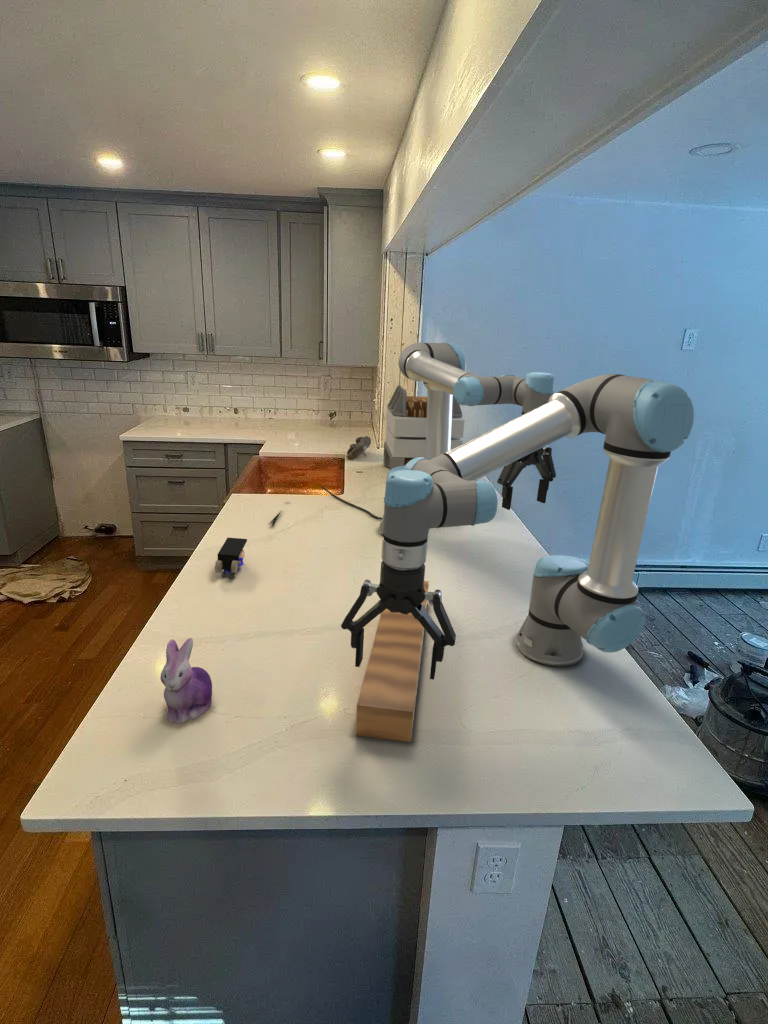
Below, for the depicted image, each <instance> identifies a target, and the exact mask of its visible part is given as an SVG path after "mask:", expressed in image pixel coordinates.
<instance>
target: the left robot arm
mask: <svg viewBox="0 0 768 1024" xmlns="http://www.w3.org/2000/svg"><path fill="white" fill-rule="evenodd" d="M398 368H399V371H400V373H401V374H402V375H403V376H404V377H405V378H407V379H408V380H410V381H413V382H422V385H423V386H424V387H425V388H426V389H427V392H426V393H427V395H426V397H427V424H426V458H428V459H433V458H435V457H437V456H439V455H441V454H443V453H445V452H448V451H450V444H451V420H452V396H454V398H455V400H457V403H458V404H459V405H460V406H466V407H467V406H468V407H475V406H487V405H488V406H490V405H493V406H494V405H516V406H519V407H522V409H521V415H524V414H526V413H528V412H530V411H532V410H534V409H536V408H538V407H540V406H542V405H544V404H546V403H548V400H549V398H550V397H551V396H552V395H553V394H555V385H556V384H555V381H556V378H555V376H554V374H552V373H548V372H538V371H531V372H528V373H526V376H525V377H521V376H516V375H513V374H501V375H499V376H480V375H476V374H475V373H471V372H469V371H468V370H467V371H466V368H467V361H466V356H465V354H464V351H463V350H462V348H461V346H459V345H458V344H456V343H451V342H414V343H411V344H409V345H407V346H406V347H405V348H403V350H402V351H401V352H400V354H399V357H398ZM552 454H553V448H552V447H549V446H548V445H546V446H544V447H542V448H540V449H538V450H536V451H534V452H532V453H530V454H528V455H526V456H524V457H522V458H520V459H518V460H516V461H514V462H512V463H510V464H508V465H506V466H504V467H502V470H501V472H500V474H499V476H498V479H497V481H496V482H497V484H498V485H501V486H502V488H501V497H502V499H501V500H502V501H501V508H503V509H505V510H507V511H510V510H511V507H512V499H513V490H514V487H513V486H512V485H513V483H515V481H516V480H517V478H518V477H519V476H520V474H521V472H522V471H523V470H524V469H525V468H527V467H528V466H532V465H533V466H535V468H536V469H537V471H538V473H539V475H540V477H541V478H540V479H539V481H538V488H537V496H536V501H537V502H539V503H541V504H546V502H547V501H546V500H547V496H548V495H547V494H548V491H549V488H550V487H549V486H550V482H553V481H554V479H555V478H556V477H557V473H556V468H555V464H554V459H553V455H552ZM405 466H406V465H404V466H398V467H395V468H393V469H391V470H390V469H389V470H388V472H387V475H386V479H385V485H386V484H387V479H388V477H389V475H390V474H391V473H393V472H395V471H399V470H403V469H404V467H405ZM321 488H322V489H323V490H324V491H325V492H327V493H328V494H330V495H331V496H332V497H334V498H336V499H337V500H339V501H341V502H343V503H345V504H347V505H349V506H352V507H354V508H356V509H359V510H361V511H363V512H365V513H367V514H368V515H369V516H371V517H373V518H375V519H377V520H381V522H379V527H378V533H379V534H380V535H381V536H383V529H384V514H383V515H382V517H380V516H377V515H374V514H373V513H371V511H369V510H367V509H365V508H363V507H360V506H358V505H355V504H353V503H351V502H349V501H346V500H345V499H343V498H340V496H337V495H335V494H334V493H332V492H331V491H329V490H328V489H327V488H326V487H324V486H323V485H322V486H321Z"/></svg>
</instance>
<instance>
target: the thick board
mask: <svg viewBox="0 0 768 1024" xmlns="http://www.w3.org/2000/svg"><path fill="white" fill-rule="evenodd" d="M429 587H430V581H429V580H424V590H425V592H429ZM428 602H429V601H428V600H426V599H425V600H424V601H423V602H422V604H423V606H424V608H425V610H426V612H427V610H428ZM424 636H425V629H424V627H423V626H422V625H421V623H420V622H419V621H418V620H417V619H415V617H414V616H413V615H412V614H411V613H408V615H406V614H402V613H399V612H396V613H393V612H390V610H388V609H385V610H384V611H383V612H382V613H381V614H380V617H379V620H378V624H377V629H376V632H375V635H374V640H373V643H372V647H371V652H370V655H369V658H368V661H367V662H368V663H367V665H366V670H365V674H364V677H363V681H362V684H361V688H360V692H359V696H358V700H357V703H356V719H355V720H356V721H355V723H356V724H355V729H356V730H355V736H360V737H367V738H375V739H382V740H391V741H398V742H405V743H406V742H407V743H412V738H413V737H412V736H413V729H414V721H415V712H416V705H417V695H418V686H419V678H420V669H421V661H422V653H423V652H422V651H423V644H424Z"/></svg>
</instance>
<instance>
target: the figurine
mask: <svg viewBox="0 0 768 1024" xmlns="http://www.w3.org/2000/svg"><path fill="white" fill-rule="evenodd" d="M193 646H194V639H193V638H192V637H188V639H186V640H185V641H184V643H183V644H182V645H181V646H180V648H179V646H178V643H177V642H176V640H175V639H172V638H171V640H169V641H168V642H167V644H166V649H165V657H166V658H165V659H166V661H165V664H164V666H163V668H162V670H161V672H160V676H159V679H160V682H161V683H162V684H163V685H164V686H165V688H164V689H163V699H164V701H165V704H166V707H167V710H166V711H167V712H166V716H165V717H166V720H167V721H168V722H171V723H176V724H184V723H186V722H187V721H190V720H196V719H197V718H199V717H200V716H202V715H203V714H205V713H206V712H207V711H208V710H210V709H211V706H212V700H213V699H212V696H213V682H212V678H211V676H210V674H209V673H208V671H207V670H206V669H204V668H203V667H199V666H191V664H190V658H191V655H192V650H193Z"/></svg>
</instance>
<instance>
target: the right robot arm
mask: <svg viewBox="0 0 768 1024" xmlns="http://www.w3.org/2000/svg"><path fill="white" fill-rule="evenodd" d="M694 421H695V410H694V404H693V401H692V399H691V398H690V397H689V395H688V392H687V391H686V390H684V388H682V387H681V386H679V385H677V384H673V383H670V382H666V381H665V380H661V379H660V380H659V379H653V378H645V377H639V376H638V377H637V376H631V375H625V374H619V373H606V374H602V375H601V374H600V375H597V376H594V377H593V376H592V377H589V378H588V379H585V380H581V381H579V382H577V383H575V384H572V385H570V386H568V387H566V388H563V389H562V390H559V391H557V392H554V394H553V395H552V396H551V397H550V398H549V400H548V403H546V404H544V405H542V406H540V407H538V408H536V409H534V410H532V411H530V412H528V413H526V414H524V415H522V414H521V415H518V416H517V417H515V418H513V419H511V420H508V421H507V422H505V423H503V424H501V425H499V426H497V427H495V428H493V429H491V430H489V431H486V432H485V433H483V434H480V435H478V436H476V437H474V438H472V439H470V440H468V441H466V442H464V443H462V445H460V446H458V447H456V448H454V449H452V450H450V451H448V452H445V453H443V454H441V455H439V456H437V457H435V458H433V459H428V458H423V457H418V458H414V459H412V460H411V461H409V462H408V463H407V464H406V466H405V465H404V466H405V467H404V469H403V470H399V471H395V472H393V473H391V474H390V475H389V477H388V479H387V478H386V480H387V484H386V483H385V491H384V497H383V503H384V504H383V506H384V507H383V515H384V529H383V535H382V542H381V555H380V557H381V562H380V573H379V575H380V576H379V583H378V584H376V583H372V581H371V580H370V579H365V580H364V581H363V583H362V585H361V587H360V591H359V596H358V597H357V599H356V600H355V601H354V603H353V605H352V606H351V608H350V609H349V611H348V612H347V614H346V615H345V617H344V619H343V620H342V623H341V625H340V627H341V629H342V630H347V631H349V632H350V647H351V649H355V662H354V667H356V668H360V667H361V664H362V661H363V658H364V644H365V643H364V642H365V641H364V640H365V628H364V627H366V626H367V625H368V624H370V623H371V622H372V621H373V620H374V619H375V618H376V617H378V616H379V615H381V613H382V612H383V611H384V610H385V609H388V610H390V612H393V613H396V612H399V613H402V614H406V615H408V613H411V614H412V615H413V616H414V617H415V619H417V620H418V621H419V622H420V623H421V625H422V626H423V627H424V631H426V633H427V635H429V637H430V638H431V640H432V641H433V645H432V650H431V651H432V652H431V660H430V661H431V662H430V672H429V680H432V681H433V680H434V681H435V677H436V673H437V672H436V670H437V663H442V662H443V661H444V656H445V648H446V647H447V646H449V647H454V646H455V645H456V638H457V635H456V632H455V630H454V628H453V625H452V622H451V621H450V618H449V615H448V613H447V611H446V608H445V606H444V604H443V600H442V596H443V595H442V591H441V589H435V590H434V591H428V592H425V590H424V581H425V574H426V565H425V564H426V563H427V555H428V553H427V552H428V542H429V532H430V530H431V529H440V528H450V527H451V528H452V527H463V526H465V527H466V526H471V527H475V526H476V525H481V524H486V523H490V522H491V521H492V520H493V519H494V518H495V516H496V514H497V511H498V505H499V499H498V493H497V490H496V488H495V487H494V485H493V483H491V482H490V481H487V480H481V479H482V478H485V477H486V476H488V475H490V474H493V473H495V472H496V471H499V470H501V469H503V468H504V466H506V465H508V464H510V463H512V462H514V461H516V460H518V459H520V458H522V457H524V456H526V455H528V454H530V453H532V452H534V451H536V450H538V449H540V448H542V447H544V446H548V445H550V444H553V443H555V442H557V441H558V440H561V439H562V438H567V439H574V438H576V437H579V436H580V435H582V434H585V433H600V434H603V435H604V441H603V446H602V450H603V451H604V453H605V454H606V455H607V457H608V464H607V469H606V476H605V480H604V486H603V491H602V496H601V502H600V505H599V511H598V516H597V520H596V525H595V531H594V536H593V542H592V547H591V551H590V556H589V560H588V561H587V560H585V559H582V558H579V557H575V556H570V555H547V556H544V557H542V558H540V559H539V560H537V562H536V564H535V568H534V572H533V573H532V583H531V591H530V600H529V606H528V607H529V608H528V613H527V615H526V617H525V619H524V621H523V623H522V625H521V626H520V628H519V630H518V632H517V635H516V641H515V643H516V647H517V649H518V651H519V652H520V653H521V654H522V655H523V656H524V657H526V658H527V659H529V660H531V661H533V662H536V663H538V664H540V665H545V666H549V667H558V668H560V667H561V668H562V667H571V666H573V665H575V664H578V663H579V662H580V661H581V659H582V658H583V652H584V644H583V641H582V639H584V640H585V641H586V643H587V644H588V645H590V646H593V647H595V649H597V650H599V651H600V652H602V653H603V652H604V653H615V652H619V651H622V650H623V649H626V648H628V646H630V645H631V644H632V643H633V642H634V641H636V640H637V638H638V637H639V636H640V635H641V633H642V631H643V629H644V627H645V624H646V614H645V613H644V610H643V609H642V608H641V606H639V605H638V604H636V603H637V599H638V594H639V587H638V586H637V584H636V582H635V581H634V576H635V575H634V574H635V570H636V566H637V562H638V557H639V552H640V548H641V543H642V540H643V535H644V532H645V531H644V530H645V526H646V523H647V517H648V513H649V509H650V505H651V501H652V495H653V491H654V487H655V482H656V478H657V473H658V469H659V467H660V466H661V464H663V463H665V462H667V461H668V460H669V459H670V457H671V453H672V452H673V451H676V450H677V449H679V448H680V447H682V446H683V445H684V443H685V441H684V440H687V439H688V438H689V437H690V435H691V432H692V430H693V426H694V423H695V422H694ZM374 593H376V595H377V596H378V598H379V600H378V601H377V602H376V603H375V604H374V605H373V606H371V607H370V608H369V609H368V610H366V612H364V614H362V615H361V616H360V617H359V618H357V619H356V620H355V621H354V619H355V617H356V616H357V614H358V612H359V611H360V609H361V608H362V607H363V604H364V603H365V602H366V599H367V598H368V597H372V596H373V594H374ZM425 599H426V600H428V601H427V602H428V604H429V605H430V606H432V609H433V612H434V614H435V617H436V619H437V621H438V624H439V626H438V625H437V623H436V622H435V621H434V620H433V618H432V617H431V615H430V614H429V613H428V612H427V611H426V610H425V608H424V606H423V604H422V602H423V601H424V600H425ZM440 628H441V629H440Z"/></svg>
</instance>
